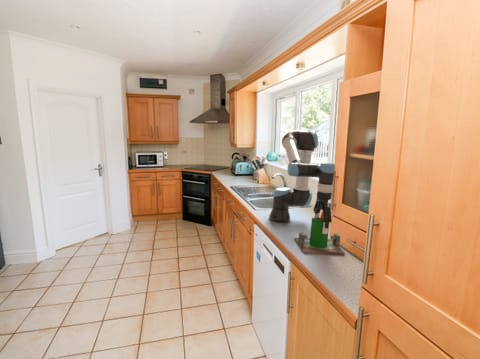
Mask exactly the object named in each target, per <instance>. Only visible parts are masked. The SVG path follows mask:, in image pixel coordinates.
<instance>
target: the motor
mask: <svg viewBox="0 0 480 359" xmlns="http://www.w3.org/2000/svg"><path fill="white" fill-rule="evenodd" d="M323 221H324V215H323V211H322V212H321V213H320V216H319V218H314V217H311V224H310V225H311V226H310V236H309V238H310V244H309V245H311V246H313V247H317V248H325V247H327V242H328V239H329V231H330V227H329V228H328V234H323V233H322V231H323V223H324V222H323ZM330 223H331V222H329V224H330Z"/></svg>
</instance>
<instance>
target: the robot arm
mask: <svg viewBox="0 0 480 359" xmlns="http://www.w3.org/2000/svg"><path fill="white" fill-rule="evenodd" d="M281 144H282V147H283V149H284V150H285V152H286V155H287V159H288V165H287V174H288V176H290V177H294V178H296V180H295V185H294V186H293V187H292V189H291V188H290V187H287V186H286V187H284V186H283V187H276V188H275V189H274V190H273V195H272V197H273V198H272V208H271V211H270V213H269V217H268V219H269V220H270V221H271V222H275V223H278V224H279V223H280V224H283V223H285V224H286V223H290V221H291V215H290V211H289V208H290V207H297V208H298V207H299V208H300V207H301V208H308V207H309V206H310V205H311V203H312V198H313V196H312V195H313V193H312V191H310V190H311V189H310V187H309V180H310V178H318V183H317V185H316V186H317V192H316V199H315V200H316V201H315V203H314V207H313V209H312V210H313V213H314V216H313V218H320V217H321V211H322V212H323V215H324V221H323V222H324V223H323V231H322V233H323V234H328V235H329V233H328V228H329V229H330V223H332V220H333V219H332V210H331V208H332V207H331V206H332V203H330V202H329V201H331V199H332V195H333V193H332V192H333V188H334V181H335V180H334V179H335V178H334V177H335V172H336V165H335V163H332V162H320V163H311V160H312V154H313V153H314V151H315V149H317V148H318V145H319V138H318V134H317V132H315V131H314V130H303V129H301V130H299V129H294V130H293V129H291V130H289V131H287V132H286V133H285V134H284V135H283V136H282V139H281ZM329 222H330V223H329Z"/></svg>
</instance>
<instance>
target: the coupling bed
mask: <svg viewBox="0 0 480 359" xmlns="http://www.w3.org/2000/svg"><path fill="white" fill-rule="evenodd" d="M294 242H295V243H296V244H297V246H298V248H299V249H300V251H301V252H302V253H303V255H326V256H328V255H329V256H331V255H332V256H345V254H346V253H345V251H344V250H343V249H342V248H341V247H340V242H341V236H340V235H339V234H338V233H333V235H331V236H330V238H328V242H327V247H325V248H317V247H313V246H311V245H309V244H310V237H308V234H305V233H304V232H298V237H294Z"/></svg>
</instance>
